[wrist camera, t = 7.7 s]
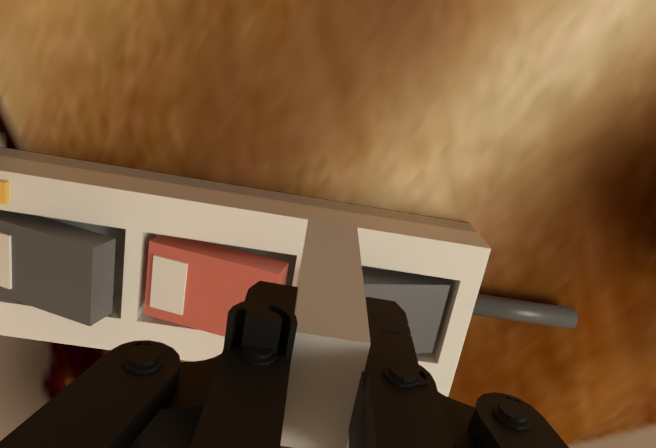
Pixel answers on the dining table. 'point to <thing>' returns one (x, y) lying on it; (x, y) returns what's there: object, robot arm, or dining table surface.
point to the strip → (241, 234)
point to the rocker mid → (202, 281)
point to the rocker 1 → (56, 267)
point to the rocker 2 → (412, 301)
